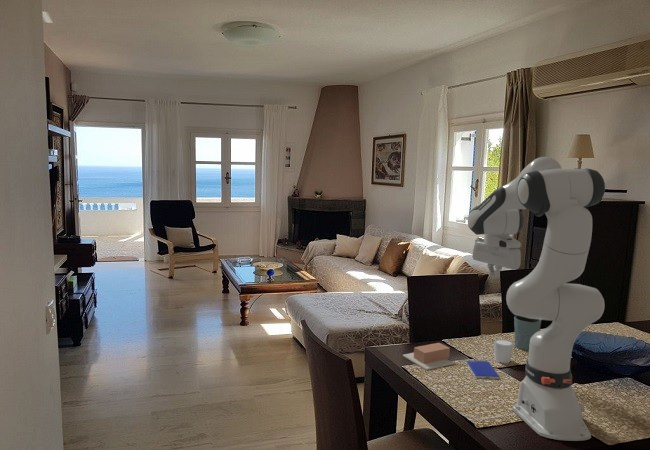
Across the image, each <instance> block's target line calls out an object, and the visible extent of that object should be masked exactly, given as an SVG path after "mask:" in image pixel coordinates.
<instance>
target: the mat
mask: <svg viewBox="0 0 650 450" xmlns="http://www.w3.org/2000/svg"><path fill="white" fill-rule="evenodd" d="M402 357H404V358H405V359H407V361H408V360H409V361H410V362H412V363H414V364H415V365H417V366H419V367H421V368H422V369H423V370H425V371H429V370H434V369H439V368H443V367H448V366H451V365H452V366H453V365H455V364H456V363H455V362H454V361H452V360H450V359H449V358H448V359H444V360H439V361H434V362H430V363H425V364H424V363H422V362H420V361H419V360H417V359H415V358H414V352H410V353H405V354H402Z"/></svg>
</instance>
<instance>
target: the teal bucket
mask: <svg viewBox="0 0 650 450" xmlns="http://www.w3.org/2000/svg"><path fill="white" fill-rule="evenodd" d="M513 319H514V321H513V323H514V324H513V326H514V346H515V348H516V347H517V349H518V348H519V349H518V350H521V349H522V350H521V351H525V350H526V352H529V344H530V339H531V337H532V336H533V335H534V334H535V333H536V332H538V331H540V330H541V327H542V326H541V325H542V320H540V319H529V318H525V317H521V316H518V315H514V317H513Z"/></svg>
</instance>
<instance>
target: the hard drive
mask: <svg viewBox="0 0 650 450" xmlns="http://www.w3.org/2000/svg"><path fill="white" fill-rule="evenodd" d="M467 364H468V365H467ZM466 365H467V366H469V367H468V368H469V370H470V369H471V370H470V372H471V371H472V372H471V373H472V375H473V374H474V375H473V376H474V378H475V379H489V380H490V379H491V380H496V379H498V380H500V378H501V377H500V375H499V374H498V372H497V371H496V370H495V368H494V367H493V365H492V364H491V363H490V362H489V361H487V360H486V361H485V360H466Z"/></svg>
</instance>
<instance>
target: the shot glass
mask: <svg viewBox="0 0 650 450" xmlns="http://www.w3.org/2000/svg"><path fill="white" fill-rule="evenodd" d="M514 346H515V343H514V342H512V341H510V340H507V339H494V341H493V347H494V348H493V350H494V351H493V352H494V361H495V360H496V361H495V362H497V361H498V362H497V363H500V362H501V363H500V364H510V363H511V362H510V361H512V355H513V349H514ZM509 362H510V363H509Z"/></svg>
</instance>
